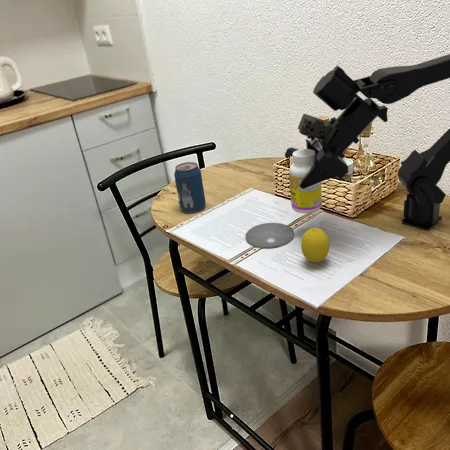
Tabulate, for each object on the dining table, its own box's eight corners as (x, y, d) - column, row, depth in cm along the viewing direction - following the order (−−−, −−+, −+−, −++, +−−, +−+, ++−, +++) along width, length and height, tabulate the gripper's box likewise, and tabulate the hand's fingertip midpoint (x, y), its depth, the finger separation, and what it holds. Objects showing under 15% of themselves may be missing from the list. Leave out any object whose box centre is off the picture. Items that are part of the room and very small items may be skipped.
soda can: (202, 200, 130) (195, 159, 124) (209, 210, 124) (203, 167, 118) (177, 206, 128) (170, 165, 122) (184, 216, 122) (176, 173, 117)
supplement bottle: (291, 202, 108) (288, 148, 102) (321, 200, 106) (319, 146, 101) (291, 215, 102) (287, 159, 96) (322, 213, 101) (320, 156, 95)
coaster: (303, 232, 107) (303, 230, 107) (272, 253, 101) (272, 251, 100) (267, 220, 114) (267, 218, 114) (235, 239, 108) (235, 237, 108)
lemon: (323, 272, 92) (322, 237, 89) (297, 266, 95) (295, 232, 92) (333, 258, 96) (333, 223, 93) (308, 253, 99) (307, 219, 96)
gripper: (313, 90, 101) (267, 145, 107) (329, 111, 85) (273, 175, 91) (351, 121, 104) (303, 173, 110) (373, 148, 88) (316, 207, 94)
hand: (298, 181), depth 101 cm, fingers closed on supplement bottle, 7 cm apart
